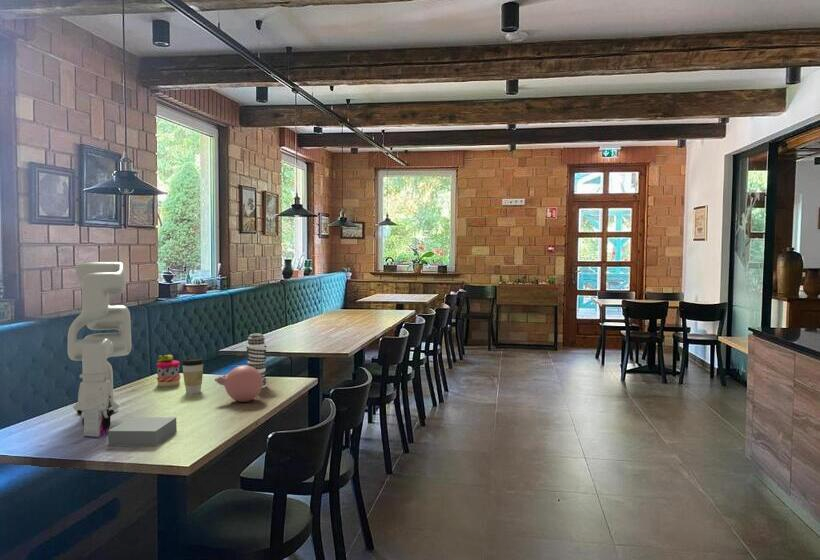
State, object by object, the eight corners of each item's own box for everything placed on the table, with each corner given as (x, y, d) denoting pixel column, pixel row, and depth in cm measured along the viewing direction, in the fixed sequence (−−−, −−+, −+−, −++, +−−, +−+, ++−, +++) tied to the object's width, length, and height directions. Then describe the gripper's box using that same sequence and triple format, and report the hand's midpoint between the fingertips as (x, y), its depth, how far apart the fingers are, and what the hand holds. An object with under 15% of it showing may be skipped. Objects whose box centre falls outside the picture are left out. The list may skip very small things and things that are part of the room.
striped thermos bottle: (251, 384, 284) (250, 332, 283) (270, 384, 283) (269, 332, 281) (243, 388, 275) (242, 335, 274) (262, 389, 274) (261, 335, 272)
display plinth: (108, 445, 195) (107, 431, 194) (132, 431, 211) (131, 417, 210) (156, 446, 194) (155, 431, 194) (176, 431, 210) (176, 417, 210)
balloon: (221, 396, 260) (221, 362, 259) (267, 396, 259) (266, 362, 259) (209, 406, 244) (208, 369, 244) (257, 406, 244) (256, 369, 243)
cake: (160, 382, 289) (160, 352, 288) (183, 382, 290) (182, 351, 289) (153, 387, 278) (153, 356, 278) (177, 386, 279) (176, 355, 279)
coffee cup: (209, 391, 270) (208, 358, 269) (191, 395, 262) (190, 362, 261) (195, 388, 275) (194, 356, 275) (177, 393, 267) (176, 360, 266)
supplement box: (98, 438, 203) (97, 405, 202) (83, 437, 204) (82, 404, 203) (110, 433, 208) (109, 401, 208) (95, 432, 209) (94, 400, 209)
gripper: (64, 379, 201) (65, 431, 202) (113, 379, 201) (115, 431, 202) (77, 375, 209) (78, 425, 210) (125, 375, 208) (126, 425, 209)
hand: (96, 427), depth 206 cm, fingers closed on supplement box, 6 cm apart
